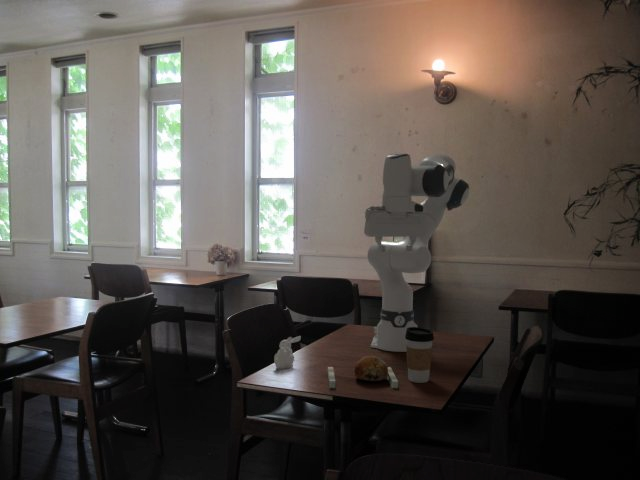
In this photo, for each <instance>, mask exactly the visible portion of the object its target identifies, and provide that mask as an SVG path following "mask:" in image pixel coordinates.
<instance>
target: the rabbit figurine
mask: <svg viewBox="0 0 640 480" xmlns="http://www.w3.org/2000/svg"><path fill="white" fill-rule="evenodd" d="M301 338H302V336H301V335H299V336H296V337H292V336H289V337H287V339H283V340H281V341H280V342H279V345H278V347H279V349H278V350H277V352H276V353H275V354H274V358H273V361H274V364H275V368H277V369H279V370H284V369H290V368H292V367H294V362H295V355H293V349H292V344H293V343H297V342H300V341H301Z"/></svg>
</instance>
